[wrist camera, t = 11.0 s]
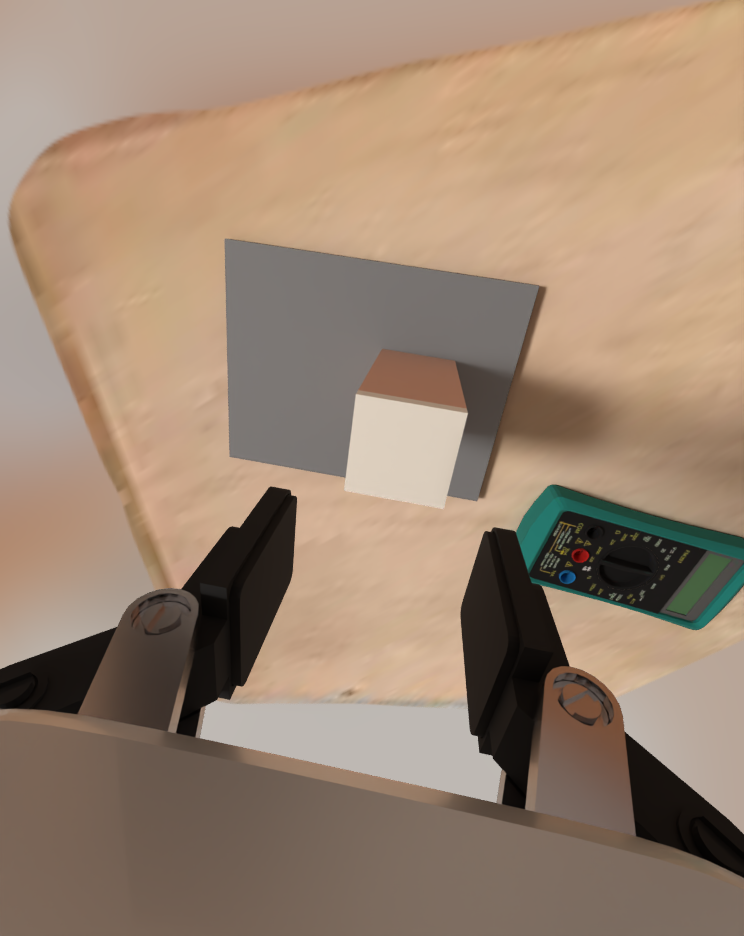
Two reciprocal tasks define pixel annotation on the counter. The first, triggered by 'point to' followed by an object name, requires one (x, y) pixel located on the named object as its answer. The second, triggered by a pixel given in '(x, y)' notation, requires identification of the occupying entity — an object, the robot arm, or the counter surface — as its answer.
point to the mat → (358, 350)
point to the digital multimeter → (630, 558)
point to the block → (406, 429)
